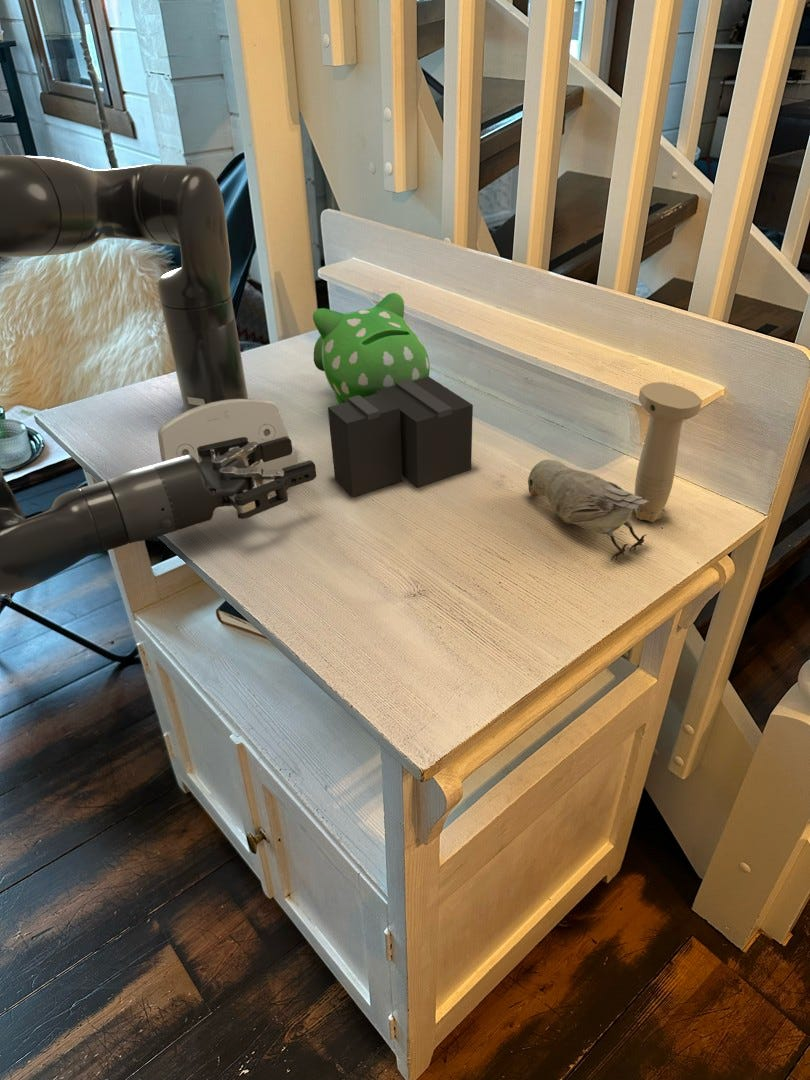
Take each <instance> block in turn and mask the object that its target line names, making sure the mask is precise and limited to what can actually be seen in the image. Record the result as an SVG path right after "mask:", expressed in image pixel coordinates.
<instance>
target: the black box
mask: <svg viewBox="0 0 810 1080" xmlns="http://www.w3.org/2000/svg"><path fill="white" fill-rule="evenodd" d="M327 413H328V423H329V424H328V425H329V433H330V443H331V445H330V446H331V453H332V454H331V455H332V464H333V472H334V480H335V481H336V483H338V484H339V485H340V487H342V488H343V489H344V490H345V491H346V493H348V494H349V495H350V496H351V498H355V497H358V496H361V495H364V494H367V493H370V492H373V491H376V490H380V489H382V488H384V487H388V486H391V485H394V484H397V483H401V482H403V474H402V454H401V427H400V408H399V407H398V406H396V405H395V404H394V403H392V402H391V401H389V400H388V399H387V398H385V397H384V396H383V395H381V394H380V393H377V394H374V395H370V396H367V397H363V398H362V397H361V396H360V395H358V396H355V397H351V398H348V402H345V403H341V404H338V403H337V404H335V405H330V406H327Z"/></svg>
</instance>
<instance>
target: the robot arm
mask: <svg viewBox="0 0 810 1080" xmlns="http://www.w3.org/2000/svg"><path fill="white" fill-rule="evenodd" d="M218 183H219V182H218V181H217V179H216V178H215V176H214V174H212V172H211V171H209V170H208V169H206V168H204V167H202V166H198V165H187V164H185V165H184V164H168V163H167V164H165V163H150V164H149V163H148V164H142V165H135V166H127V167H121V168H112V169H111V168H109V169H95V168H94V169H93V168H89V167H86V166H84V165H82V164H79V163H76V162H73V161H69V160H65V159H61V158H55V157H47V156H36V155H35V156H34V155H16V154H2V155H1V154H0V257H3V258H4V257H7V258H8V257H9V258H10V257H12V258H13V257H14V258H16V257H17V258H18V257H19V258H21V257H22V258H24V257H25V258H26V257H27V258H28V257H29V258H31V257H43V256H44V257H45V256H57V255H59V256H60V255H68V254H73V253H77V252H80V251H83V250H86V249H88V248H90V247H91V246H92V247H93V245H95V244H96V243H97V242H100V240H105V239H122V240H133V241H141V242H148V243H152V244H158V245H167V246H176V247H177V246H178V247H179V249H180V250H179V251H180V259H181V267H179V268H176V269H172V270H170V271H169V272H166V273H164V274H163V275H162V276H160V277H159V279H158V280H157V286H156V287H157V292H158V293H157V294H158V297H159V302H160V306H161V311H162V316H163V319H164V324H165V328H166V332H167V337H168V343H169V347H170V350H171V351H170V352H171V356H172V359H173V364H174V369H175V373H176V378H177V382H178V386H179V393H180V397H181V401H182V406H183V409H184V410H183V413H184V412H186V411H188V410H190V409H193V408H196V407H198V406H201V405H205V404H208V403H212V402H217V401H222V400H230V399H249V393H248V389H247V381H246V376H245V369H244V363H243V358H242V353H241V345H240V340H239V334H238V329H237V327H238V326H237V322H236V316H235V310H234V304H233V299H232V292H231V283H230V281H231V272H232V265H231V264H232V259H231V252H230V245H229V234H228V225H227V224H228V223H227V216H226V208H225V201H224V198H223V195H222V191H221V188H220V185H219V184H218ZM292 443H293V442H292V440H291V438H290V437H289V438H288V437H287V436H285V437H281V438H278V439H274V440H271V441H267V442H264V443H260V444H258V443H257V442H248V438H246V437H240V438H236V439H231V440H227V441H222V442H218V443H213V444H208V445H204V446H200V447H198V448H197V451H198V457H199V463H198V462H197V461H196V459H195V458H194V457H192V456H191V455H185V456H181V457H178V458H174V459H171V460H167V461H164V462H162V461H161V462H158V463H153V464H151V465H146V466H143V467H140V468H136V469H132V470H129V471H126V472H123V473H121V474H119V475H117V476H115V477H112V478H109V479H106V480H102V481H99V482H95V483H92V484H89V485H85V486H81V487H78V488H74V489H71V490H68V491H66V492H62V494H60V495H58V496H57V497H56V498H55V499H54V500H53V502H52V504H51V507H50V508H49V509H48V510H46V511H43V512H41V513H38V514H36V515H34V516H31V517H28V518H26V515H25V514H24V511H23V509H22V508H21V506H20V504H19V501H18V500H17V498H16V496H15V494H14V492H13V491H12V489H11V487H10V485H9V484H8V482H7V481H6V478H5V477H4V474H3V470H2V466H1V465H0V596H2V595H11V594H15V593H19V592H22V591H25V590H28V589H30V588H33V587H35V586H37V585H39V584H41V583H43V582H46V581H47V580H49V579H51V578H52V577H54V576H56V575H58V574H60V573H62V572H63V571H66V570H68V569H69V568H72V566H74V565H75V564H77V563H79V562H81V561H82V560H84V559H86V558H87V557H89V556H93V555H97V554H101V553H104V552H108V551H110V550H114V549H117V548H121V547H123V546H126V545H128V544H133V543H137V542H144V541H149V540H153V539H156V538H158V537H161V536H164V535H168V534H172V533H174V532H177V531H181V530H183V529H187V528H190V527H193V526H196V525H200V524H202V523H205V522H209V521H211V520H212V518H213V516H214V513H215V510H216V509H217V508H218V509H219V508H223V507H231V506H232V507H233V508H234V509H235V510H236V514H237V518H238V519H239V520H240V519H241V520H245V519H248V518H251V517H253V516H255V515H258V514H260V513H264V512H265V511H268V510H270V509H273V508H275V507H278V506H280V505H283V504H285V503H287V502H288V501H289V498H288V490H289V489H290V488H293V487H297V486H299V485H302V484H305V483H309V482H311V481H313V480H315V479H316V478H317V468H316V463H314V461H312V460H311V459H309V460H305V461H302V462H298V464H295V465H292V466H289V467H285V468H282V470H267V471H265V470H263V469H262V468H261V467H255V466H256V465H258V464H260V463H261V459H262V461H263V462H268V461H271V460H275V459H278V458H281V457H285V456H288V455H290V454H292V451H293V450H292V447H293V444H292ZM238 446H239V447H238ZM233 447H235V448H233ZM230 448H233V449H232V450H230V451H229V449H230ZM218 453H219V454H218ZM253 478H254V479H253ZM268 480H269V482H265V481H268ZM270 480H271V481H270ZM255 483H256V486H255ZM270 495H275V496H271V497H269V496H270Z"/></svg>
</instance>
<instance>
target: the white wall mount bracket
mask: <svg viewBox="0 0 810 1080" xmlns="http://www.w3.org/2000/svg"><path fill="white" fill-rule="evenodd" d="M285 436H287V437H288V438H289V439H290V437H289V434H288V432H287V428H286V426H285V424H284V420H283V418H282V415H281V413H280V410H279V408H278V405H276V404H275V403H274V402H272V401H270V400H263V399H257V398H248V399H230V400H222V401H217V402H212V403H208V404H205V405H201V406H198V407H196V408H193V409H190V410H188V411H186V412H184V411H183V412H182V413H180V414H178V415H176V416H174V417H172V418H171V419H169V420H168V421H166V422H165V423H163V424H162V425H161V426H160V427H159V428H158V431H157V439H158V445H159V454H160V459H161V462H164V461H167V460H171V459H174V458H178V457H181V456H185V455H191V456H192V457H194V458H195V459H196V461H197V462H198V463H199V457H198V451H197V448H198V447H200V446H204V445H208V444H213V443H218V442H222V441H227V440H231V439H236V438H240V437H246V438H248V442H257V443H258V444H260V443H264V442H267V441H271V440H274V439H278V438H281V437H285ZM238 447H239V446H238ZM233 448H235V447H233ZM233 448H230V449H229V451H230V450H232V449H233ZM292 450H293V451H292V454H290V455H288V456H285V457H281V458H278V459H275V460H271V461H268V462H263V461H262V459H261V463H260V464H258V465H256V466H255V467H261V468H262V469H263V470H265V471H267V470H282V468H285V467H289V466H292V465H295V464H298V463H299V462H298V457H297V454H296V452H295V449H294V447H293V446H292ZM218 454H219V453H218ZM253 479H254V480H255V478H253Z"/></svg>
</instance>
